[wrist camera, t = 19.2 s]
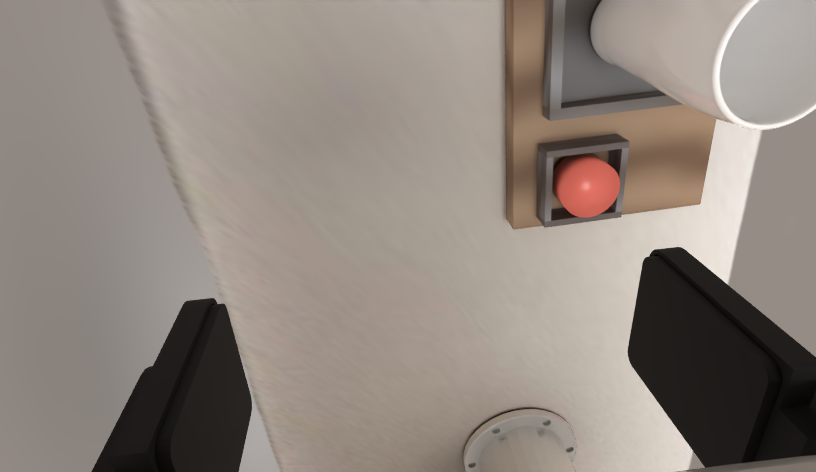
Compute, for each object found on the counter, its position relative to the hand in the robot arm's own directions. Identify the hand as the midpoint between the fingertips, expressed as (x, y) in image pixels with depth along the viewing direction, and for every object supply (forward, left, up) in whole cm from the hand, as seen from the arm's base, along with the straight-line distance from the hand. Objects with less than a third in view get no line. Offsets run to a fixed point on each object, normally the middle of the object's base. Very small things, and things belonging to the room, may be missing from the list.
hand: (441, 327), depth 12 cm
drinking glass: (+11, -14, -28) cm, 33 cm away
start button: (0, -17, -27) cm, 32 cm away
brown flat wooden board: (+7, -16, -30) cm, 35 cm away
